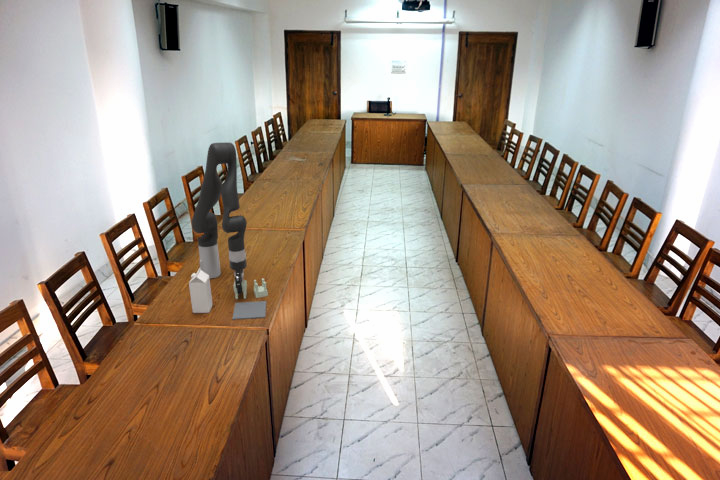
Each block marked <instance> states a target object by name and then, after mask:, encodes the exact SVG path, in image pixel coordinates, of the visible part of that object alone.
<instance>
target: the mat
mask: <svg viewBox="0 0 720 480" xmlns="http://www.w3.org/2000/svg"><path fill="white" fill-rule="evenodd" d="M266 313H267V300H263V301H262V300H261V301H244V302H242V301H241V302H234V308H233V314H232V321H235V320H236V319H240V320H249V319H250V320H252V319H266V316H265V315H266ZM236 321H237V320H236Z"/></svg>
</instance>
